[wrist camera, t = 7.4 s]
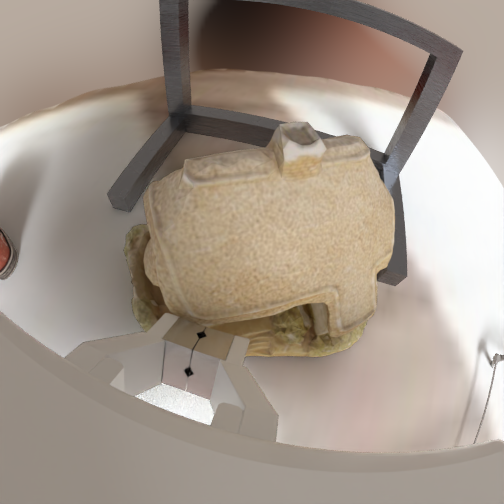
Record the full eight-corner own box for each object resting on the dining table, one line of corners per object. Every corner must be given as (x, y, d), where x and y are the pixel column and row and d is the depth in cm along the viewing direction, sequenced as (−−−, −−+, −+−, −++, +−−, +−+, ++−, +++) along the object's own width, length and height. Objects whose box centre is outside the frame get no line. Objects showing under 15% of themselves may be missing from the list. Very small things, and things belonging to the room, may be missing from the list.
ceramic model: (323, 188, 20) (366, 69, 11) (394, 326, 15) (516, 242, 6) (130, 228, 17) (78, 95, 8) (162, 406, 12) (46, 412, 3)
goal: (113, 207, 18) (50, 22, 6) (178, 120, 23) (170, -18, 11) (395, 286, 16) (541, 127, 4) (390, 175, 22) (455, 45, 10)
